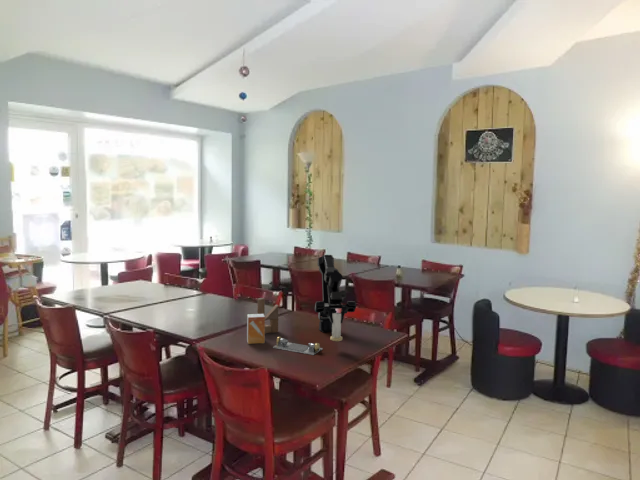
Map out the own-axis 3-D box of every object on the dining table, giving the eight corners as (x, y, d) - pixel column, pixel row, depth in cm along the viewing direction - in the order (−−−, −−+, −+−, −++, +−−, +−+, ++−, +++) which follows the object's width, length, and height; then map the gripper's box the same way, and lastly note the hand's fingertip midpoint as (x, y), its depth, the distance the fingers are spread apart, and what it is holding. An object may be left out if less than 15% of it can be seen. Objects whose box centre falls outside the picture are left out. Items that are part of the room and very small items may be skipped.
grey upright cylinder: (339, 337, 218) (339, 311, 217) (344, 340, 213) (345, 314, 212) (328, 338, 216) (328, 312, 215) (333, 341, 211) (333, 315, 210)
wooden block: (278, 332, 243) (278, 298, 241) (258, 334, 239) (258, 299, 237) (276, 330, 246) (276, 296, 244) (256, 332, 242) (256, 298, 240)
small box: (247, 344, 222) (247, 317, 221) (246, 340, 229) (246, 314, 227) (264, 343, 224) (265, 316, 223) (263, 339, 230) (263, 313, 229)
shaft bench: (273, 347, 218) (273, 339, 217) (282, 342, 226) (283, 334, 225) (313, 355, 209) (313, 346, 208) (322, 349, 217) (322, 340, 216)
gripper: (315, 284, 215) (318, 314, 205) (356, 284, 217) (360, 313, 207) (313, 297, 224) (316, 326, 214) (352, 297, 226) (356, 325, 216)
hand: (337, 322), depth 212 cm, fingers closed on grey upright cylinder, 4 cm apart
